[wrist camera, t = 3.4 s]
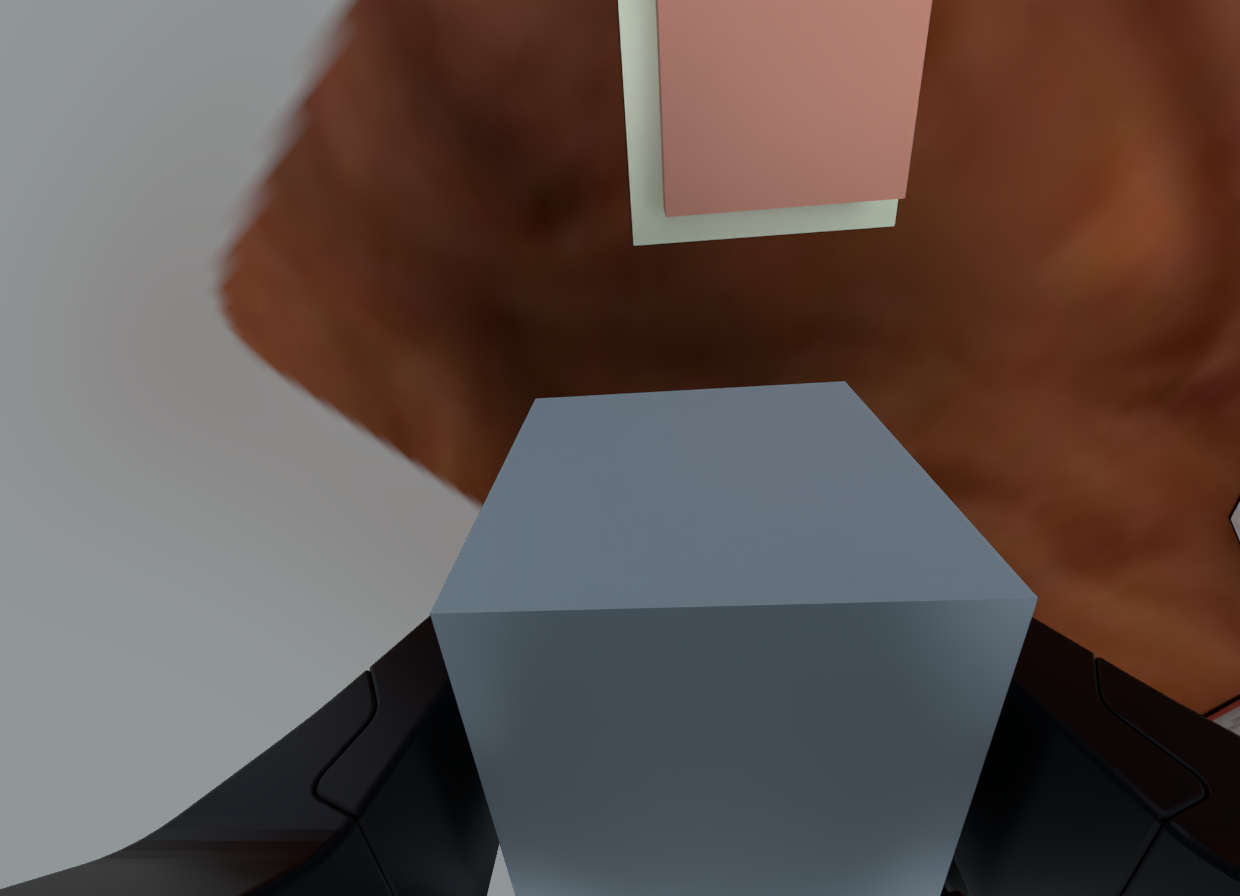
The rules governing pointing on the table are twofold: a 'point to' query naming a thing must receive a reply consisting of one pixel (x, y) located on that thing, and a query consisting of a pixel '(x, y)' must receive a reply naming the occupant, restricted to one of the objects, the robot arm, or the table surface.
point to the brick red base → (787, 101)
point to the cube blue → (726, 649)
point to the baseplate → (647, 161)
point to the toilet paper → (1236, 520)
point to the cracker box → (1228, 717)
